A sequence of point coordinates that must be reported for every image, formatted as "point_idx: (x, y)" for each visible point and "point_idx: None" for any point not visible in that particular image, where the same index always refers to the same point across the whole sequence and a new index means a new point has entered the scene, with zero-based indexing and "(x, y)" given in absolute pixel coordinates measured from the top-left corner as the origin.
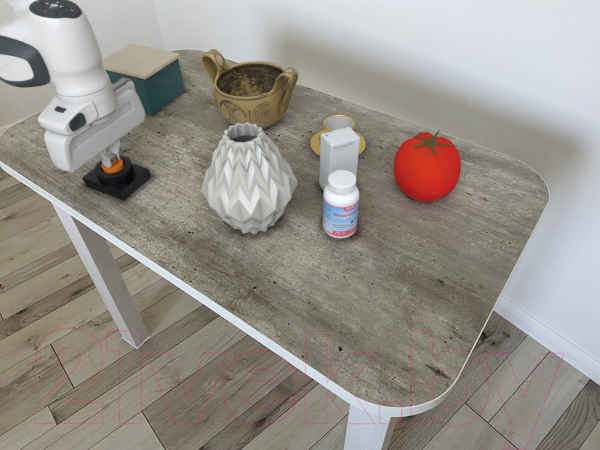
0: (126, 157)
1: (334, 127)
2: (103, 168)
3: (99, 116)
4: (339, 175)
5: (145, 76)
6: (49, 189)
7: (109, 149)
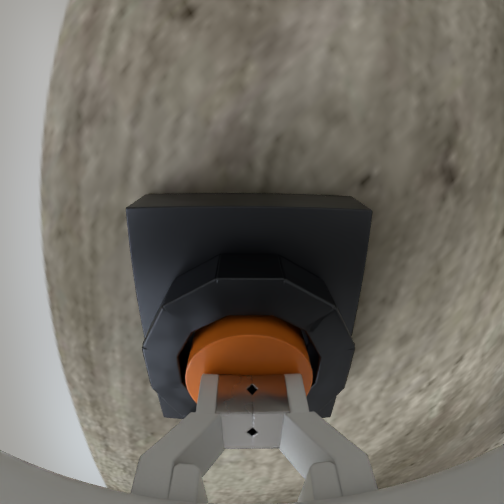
0: (344, 377)
1: None
2: (186, 375)
3: None
4: None
5: None
6: (58, 66)
7: (296, 427)
